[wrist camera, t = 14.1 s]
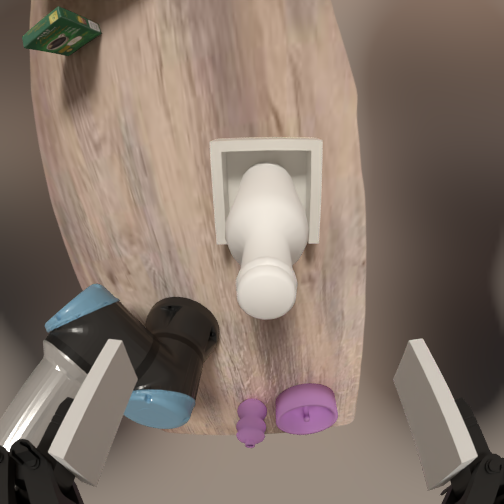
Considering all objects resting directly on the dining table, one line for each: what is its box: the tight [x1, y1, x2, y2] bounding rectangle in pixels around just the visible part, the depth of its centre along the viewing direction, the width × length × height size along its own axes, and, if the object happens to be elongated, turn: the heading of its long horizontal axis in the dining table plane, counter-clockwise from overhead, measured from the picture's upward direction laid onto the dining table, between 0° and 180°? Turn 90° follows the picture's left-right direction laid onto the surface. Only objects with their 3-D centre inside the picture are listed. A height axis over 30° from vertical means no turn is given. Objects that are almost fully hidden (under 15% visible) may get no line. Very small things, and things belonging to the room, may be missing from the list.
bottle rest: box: [210, 137, 322, 244], centre depth 43 cm, size 15×15×6 cm
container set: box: [236, 383, 338, 448], centre depth 63 cm, size 25×15×13 cm, turn 96°
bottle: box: [225, 162, 309, 320], centre depth 31 cm, size 8×8×30 cm
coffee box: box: [22, 6, 101, 56], centre depth 28 cm, size 8×3×13 cm, turn 109°
